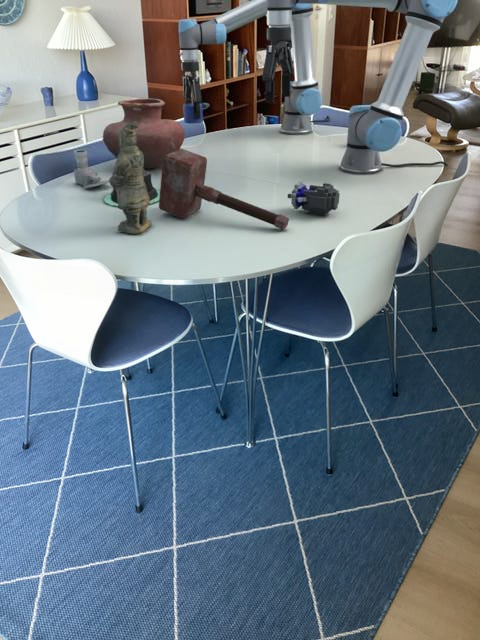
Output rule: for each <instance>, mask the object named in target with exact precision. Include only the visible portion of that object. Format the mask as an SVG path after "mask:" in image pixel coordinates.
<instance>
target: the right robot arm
mask: <svg viewBox="0 0 480 640" xmlns="http://www.w3.org/2000/svg"><path fill="white" fill-rule="evenodd" d="M458 2H459V0H267V10H269V11H267V14H266V15H265V17H266V25H267V26H268V27H267V28H266V41H268V42H271V44H270V45H266V52H265V58H264V65H263V70H262V75H261V80H262V81H263V82H264V84H265V85H264V87H265V88H264V89H265V90H264V92H265V95H264V96H265V98H264V99H265V101H264V102H265V104H275V80H274V78H275V76H276V75H275V74H276V71H277V68H278V64H280V68H281V71H282V73H283V74H282V75H281V97H282V98H283V97H284V98H285V97H290V82H291V79H292V78H291V77H292V76H294V63H293V55H292V47H291V42H289V41H292V40H291V27H290V25H291V24H292V4H313V5H332V6H347V7H349V6H350V7H366V8H381V9H382V8H383V9H384V8H385V9H386V10H387V11H388V12H389V13H390V12H393V13H400V14H405V17H404V19H405V21H406V27H405V29H404V32H403V35H402V37H401V40H400V42H399V45H398V48H397V50H396V53H395V55H394V58H393V60H392V63H391V65H390V68H389V71H388V73H387V76H386V78H385V81H384V83H383V86H382V88H381V91H380V94H379V96H378V99H377V100H376V101H375V102H373V103H371V104H362V105H352V106H351V107H350V108H349V113H348V126H347V138H346V139H347V140H346V149H345V151H344V154H343V156H342V158H341V162H340V170H341V171H343V172H345V173H349V174H355V175H356V174H357V175H369V174H370V175H371V174H376V173H378V172H380V171H382V166H383V167H389V168H402V167H410V166H412V167H413V166H415V167H417V166H421V167H422V166H423V167H427V166H436V165H437V166H438V165H444V166H445V167H449V164H448V163H447V162H445V161H443V160H440V161H435V162H408V163H399V164H392V163H391V164H390V163H385V162H382V161H381V155H380V153H383V152H387V151H390V150H391V149H393V148H395V147H396V146H397V145H398V143H399V142H400V140H401V138H402V133H403V129H402V125H401V124H402V121H403V118H404V116H405V114H404V111H403V107H404V105H405V102H406V100H407V97H408V94H409V92H410V90H411V88H412V85H413V82H414V80H415V78H416V75H417V72H418V70H419V69H420V65H421V63H422V60H423V58H424V56H425V53H426V51H427V48H428V46H429V43H430V41H431V38H432V36H433V34H434V33H435V32H436V31H439V30H440V29H441V27H442V25H443V22H444V20H445V18H446V17H448V16H449V15H451V13H452V12H454V10H455V8H456V7H457V4H458Z"/></svg>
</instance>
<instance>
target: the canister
mask: <svg viewBox="0 0 480 640" xmlns="http://www.w3.org/2000/svg"><path fill="white" fill-rule="evenodd" d="M182 109H183V111H182V112H183V123H184V124H201V123H203V122H204V113H203V112H204V111H203V104H202V103H200V117H201V119H194V108H193V102H192V103H188V104H186V103H184V104H183V105H182Z"/></svg>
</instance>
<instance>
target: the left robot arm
mask: <svg viewBox="0 0 480 640" xmlns="http://www.w3.org/2000/svg"><path fill="white" fill-rule="evenodd" d="M267 11H269V10H267V0H249V1H246V2H245V3H243V4H241V5H238V6H236V7H235V8H233V9H230V10H228V11H226V12H224V13H222V14H220V15H217V16H216V17H214V18H212V19H209V20H208V21H204V22H201V23H200V24H199V23H198V21H197V20H196V19H195V18H183V19H180V20H179V21H178V39H179V56H180V60H181V62H180V68H181V71H182V72H184V73H182V75H181V76H182V97H183V99H184V102H185V104H188V103H193V108H194V119H201V117H200V104H201V103H202V102H203V98H202V90H201V82H200V81H201V78H200V76H197V72H199V71H200V62H199V59H200V55H199V46H201V45H222V44H225V43H226V42H227V34H230V32H233V31H235V30H237V29H239V28H241V27H243V26H246V25H248V24H249V23H252V22H254V21H256V20H258V19H260V18H262V17H265V16H266V14H267ZM313 13H314V4H292V24H291V25H290V26H289V27H291V40H290V41H291V53H292V63H293V70H294V71H293V72H294V74H293V76H294V80H293V81H291V80H290V97H284V116H283V119H282V122H281V125H280V133H282V134H284V135H293V136H294V135H295V136H298V135H299V136H300V135H308V134H310V133H312V132H313V126H312V123H324V122H329V121H330V116H329V115H326V119H322V120H320V119H318V120H316V119H315V120H311V119H310V116H312V115H315V114H316V113H317V112H318V111H319V110H320V109H321V107H322V105H323V97H322V96H323V95H322V93H321V91H320V90H319V80H318V79H317V78H316V77H315V68H314V54H313V40H312V25H311V16H312V15H313Z"/></svg>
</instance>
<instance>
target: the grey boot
mask: <svg viewBox="0 0 480 640" xmlns="http://www.w3.org/2000/svg"><path fill="white" fill-rule="evenodd" d="M73 152H74V158H75V160H76V166H77V168H74V170H73V171H74V174H73V175H74V179H75V180H74V181H75V183H76V184H78V185H81V186H83V187H82V188H83V189H88V188H95V187H98V186H103V185H106V184H110V183H109V179H107V180H102V177H101V176H99V175H98V171H96V170H93V169H90V168H89V163H88V158H89V157H88V151H87V149H84V148H83V149H82V148H80V149H75V150H74V151H73Z"/></svg>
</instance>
